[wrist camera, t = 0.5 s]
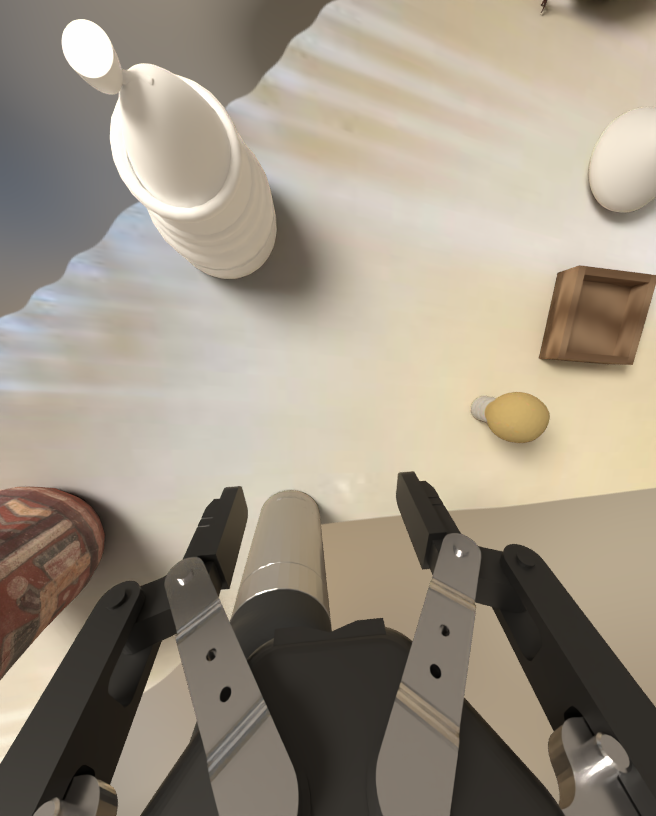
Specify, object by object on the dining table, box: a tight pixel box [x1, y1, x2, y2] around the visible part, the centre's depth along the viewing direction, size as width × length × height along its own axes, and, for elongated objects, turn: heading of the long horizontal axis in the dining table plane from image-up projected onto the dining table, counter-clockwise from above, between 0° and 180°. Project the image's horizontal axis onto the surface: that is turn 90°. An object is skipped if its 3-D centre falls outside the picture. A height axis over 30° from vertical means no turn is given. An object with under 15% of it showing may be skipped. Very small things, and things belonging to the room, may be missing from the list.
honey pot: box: [62, 19, 277, 279], centre depth 23 cm, size 13×13×18 cm
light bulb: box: [471, 392, 550, 443], centre depth 35 cm, size 6×6×10 cm
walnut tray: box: [539, 266, 656, 365], centre depth 37 cm, size 12×12×3 cm
